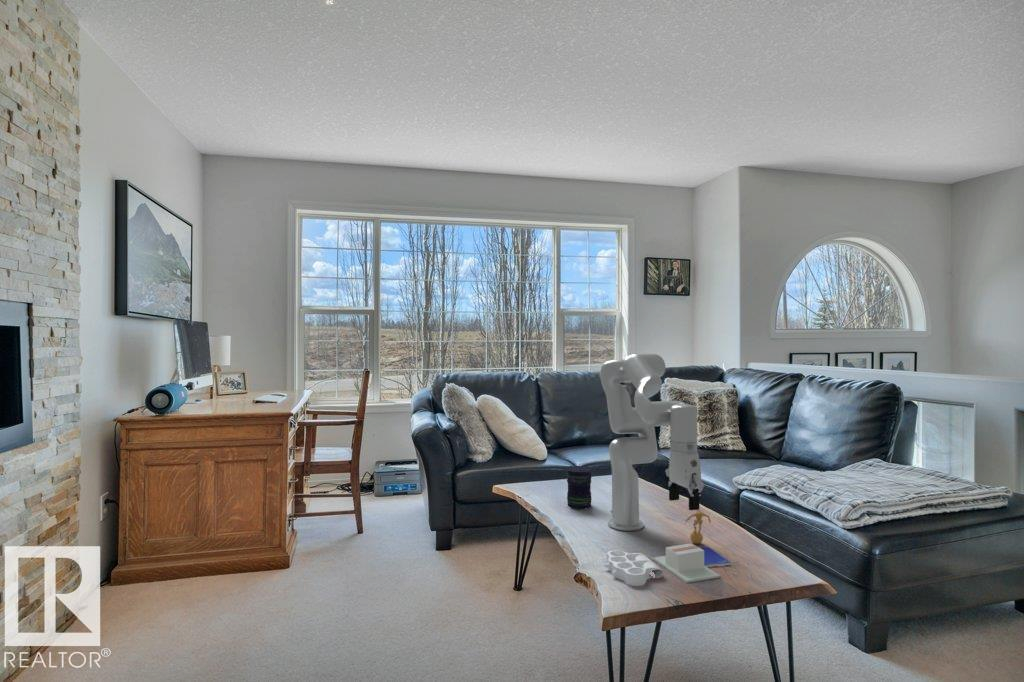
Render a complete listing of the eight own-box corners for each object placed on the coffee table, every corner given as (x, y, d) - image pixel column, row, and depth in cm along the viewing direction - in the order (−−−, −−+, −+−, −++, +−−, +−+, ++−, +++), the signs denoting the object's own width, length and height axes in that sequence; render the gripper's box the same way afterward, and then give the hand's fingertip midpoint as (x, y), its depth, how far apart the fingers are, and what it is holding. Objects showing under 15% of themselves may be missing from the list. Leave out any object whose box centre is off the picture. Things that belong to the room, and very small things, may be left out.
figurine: (706, 541, 181) (706, 504, 181) (713, 547, 175) (713, 510, 175) (682, 541, 181) (681, 505, 181) (688, 548, 174) (687, 510, 175)
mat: (652, 559, 166) (652, 557, 166) (683, 554, 169) (683, 553, 169) (686, 582, 149) (686, 580, 149) (720, 577, 153) (720, 575, 153)
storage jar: (565, 502, 225) (565, 466, 225) (589, 502, 226) (588, 466, 226) (569, 509, 215) (568, 472, 215) (593, 509, 216) (593, 471, 216)
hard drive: (731, 562, 161) (709, 546, 173) (705, 563, 160) (685, 548, 172) (731, 567, 161) (709, 551, 173) (705, 569, 160) (685, 553, 172)
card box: (690, 559, 164) (690, 542, 164) (704, 567, 158) (704, 550, 158) (665, 564, 161) (665, 546, 161) (678, 572, 155) (678, 554, 155)
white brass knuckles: (669, 583, 150) (619, 589, 147) (640, 558, 167) (595, 563, 164) (669, 571, 150) (619, 576, 147) (640, 547, 167) (595, 551, 164)
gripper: (713, 451, 153) (713, 512, 153) (677, 440, 169) (677, 495, 169) (690, 453, 150) (690, 515, 151) (656, 442, 167) (656, 497, 167)
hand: (683, 504), depth 160 cm, fingers open, 9 cm apart
